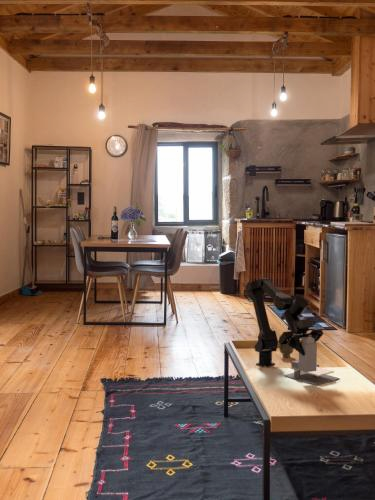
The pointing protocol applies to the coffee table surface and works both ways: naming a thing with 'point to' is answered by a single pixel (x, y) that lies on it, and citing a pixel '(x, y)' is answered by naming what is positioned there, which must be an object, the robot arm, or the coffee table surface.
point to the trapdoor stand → (310, 377)
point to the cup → (285, 350)
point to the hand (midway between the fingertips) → (309, 354)
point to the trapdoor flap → (318, 371)
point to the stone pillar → (308, 355)
